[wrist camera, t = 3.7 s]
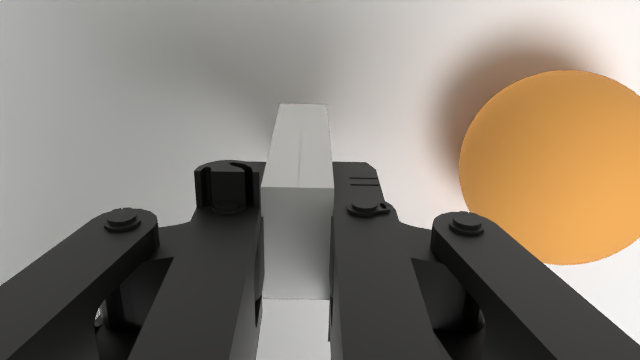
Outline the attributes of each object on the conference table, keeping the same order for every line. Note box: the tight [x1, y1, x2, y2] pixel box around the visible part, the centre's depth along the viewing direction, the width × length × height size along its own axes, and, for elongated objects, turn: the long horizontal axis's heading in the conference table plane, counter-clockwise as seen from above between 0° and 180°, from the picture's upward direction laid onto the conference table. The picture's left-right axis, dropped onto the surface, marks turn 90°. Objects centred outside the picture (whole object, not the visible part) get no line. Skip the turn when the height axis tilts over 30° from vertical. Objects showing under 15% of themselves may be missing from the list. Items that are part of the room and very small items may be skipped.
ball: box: [459, 70, 640, 265], centre depth 17 cm, size 6×6×6 cm
